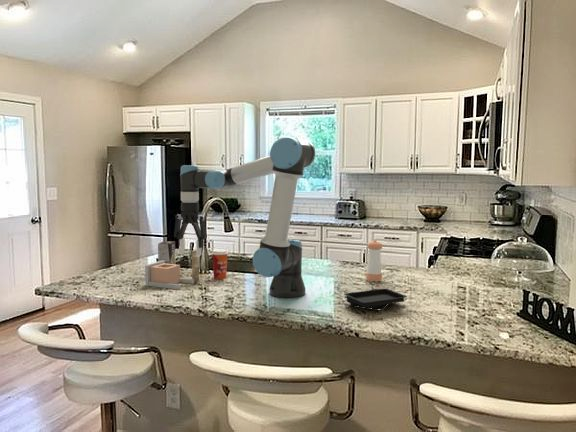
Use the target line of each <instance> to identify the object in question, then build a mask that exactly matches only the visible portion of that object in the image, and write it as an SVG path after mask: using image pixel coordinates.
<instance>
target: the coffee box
mask: <svg viewBox="0 0 576 432" xmlns="http://www.w3.org/2000/svg"><path fill="white" fill-rule="evenodd" d="M162 260H163V261H165V263H166V264H176V241H175V240H173V241H172V240H171V241H170V240H169V241H167V240H166V241H165V240H164V241H162V242H159V243H157V262H158V261H162Z"/></svg>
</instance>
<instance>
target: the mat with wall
mask: <svg viewBox="0 0 576 432" xmlns="http://www.w3.org/2000/svg"><path fill="white" fill-rule="evenodd" d="M163 263H165V261H163V260H162V261H158V260H157V261H155V262H152V263H149V264H144V265H145V266H144V272H145V273H144V277H145V278H144V279H145V281H144V282H145V286H148V287H156V288H157V287H158V288H164V289H165V288H166V289H172V290H173V289H175V290H181V284H168V283H160V282H151V267H153V266H156V265H159V264H163ZM180 283H185V284H192V285H194V284H195V282H194V279H192V278H183V277H180Z"/></svg>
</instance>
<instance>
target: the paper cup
mask: <svg viewBox="0 0 576 432" xmlns="http://www.w3.org/2000/svg"><path fill="white" fill-rule="evenodd" d="M228 254H229V252H228V250H227V249H223V248H220V249H219V248H218V249H213V250H212V252H211V255H212V268H213V278H214V279H215V280H224V279H227V269H228Z"/></svg>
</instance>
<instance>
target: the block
mask: <svg viewBox="0 0 576 432" xmlns="http://www.w3.org/2000/svg"><path fill="white" fill-rule="evenodd" d="M180 278H181V264H176V263H175V264H166V263H163V264H159V265H156V266H153V267H151V282H160V283H168V284H177V285H179V284H181V282H180Z"/></svg>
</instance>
